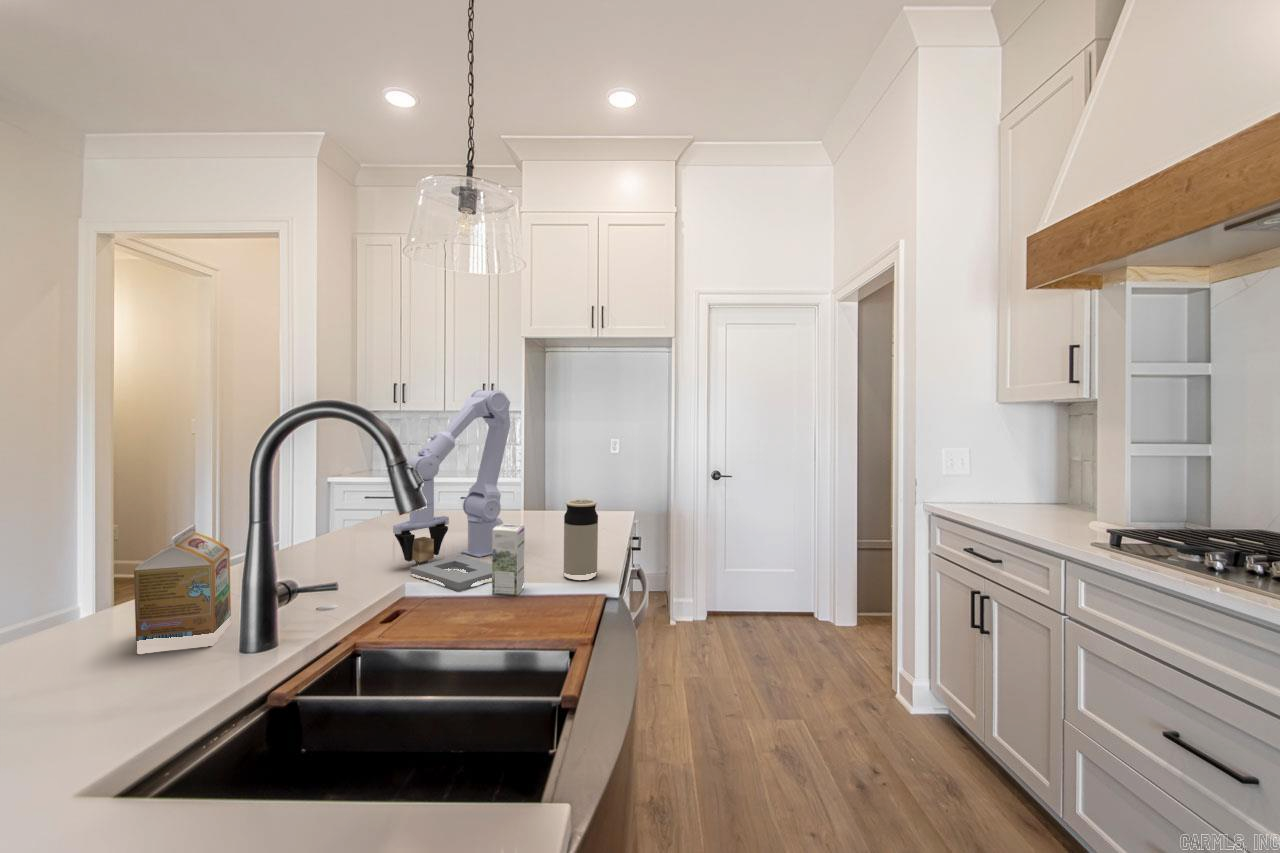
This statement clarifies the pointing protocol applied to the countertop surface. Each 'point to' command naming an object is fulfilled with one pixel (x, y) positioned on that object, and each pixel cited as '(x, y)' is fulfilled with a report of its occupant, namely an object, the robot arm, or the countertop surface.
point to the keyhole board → (455, 572)
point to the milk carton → (183, 588)
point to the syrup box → (507, 559)
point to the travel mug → (580, 537)
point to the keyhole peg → (423, 550)
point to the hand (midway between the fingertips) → (422, 557)
